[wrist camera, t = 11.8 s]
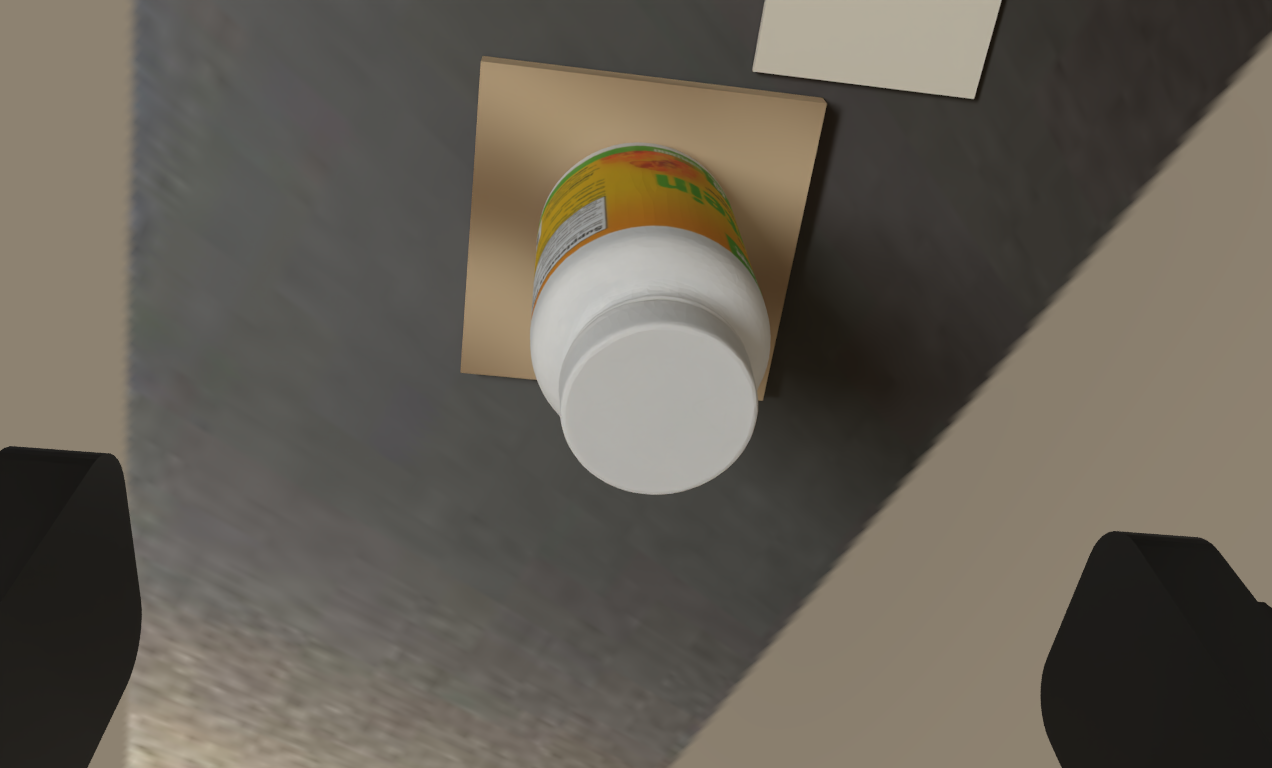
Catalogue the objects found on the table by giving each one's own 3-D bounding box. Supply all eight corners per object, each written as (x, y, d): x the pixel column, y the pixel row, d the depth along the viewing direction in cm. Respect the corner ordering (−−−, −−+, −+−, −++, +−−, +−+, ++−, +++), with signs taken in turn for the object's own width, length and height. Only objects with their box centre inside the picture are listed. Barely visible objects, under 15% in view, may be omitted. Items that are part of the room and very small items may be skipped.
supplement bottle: (774, 227, 31) (851, 405, 22) (639, 356, 32) (663, 566, 24) (631, 95, 29) (656, 234, 20) (497, 239, 30) (467, 424, 22)
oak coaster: (482, 55, 29) (480, 61, 28) (822, 97, 30) (826, 103, 29) (462, 363, 33) (460, 372, 32) (760, 390, 34) (762, 400, 33)
